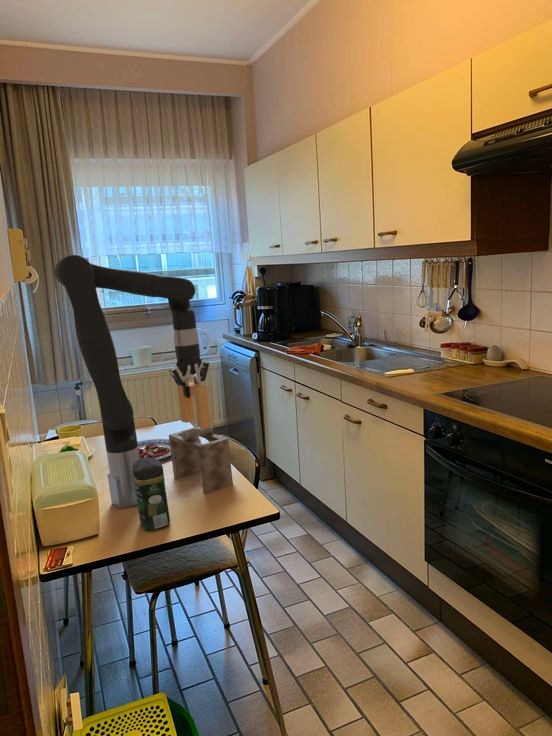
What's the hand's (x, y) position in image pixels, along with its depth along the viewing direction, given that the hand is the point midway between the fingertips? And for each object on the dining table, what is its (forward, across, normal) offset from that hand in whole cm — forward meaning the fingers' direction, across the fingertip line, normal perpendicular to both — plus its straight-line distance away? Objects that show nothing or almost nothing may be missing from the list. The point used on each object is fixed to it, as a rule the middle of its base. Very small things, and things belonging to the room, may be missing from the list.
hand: (192, 396), depth 179 cm
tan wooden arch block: (+9, 0, 0) cm, 9 cm away
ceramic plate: (+29, 0, +39) cm, 49 cm away
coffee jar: (+29, -26, -16) cm, 42 cm away
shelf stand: (+29, 0, 0) cm, 29 cm away
